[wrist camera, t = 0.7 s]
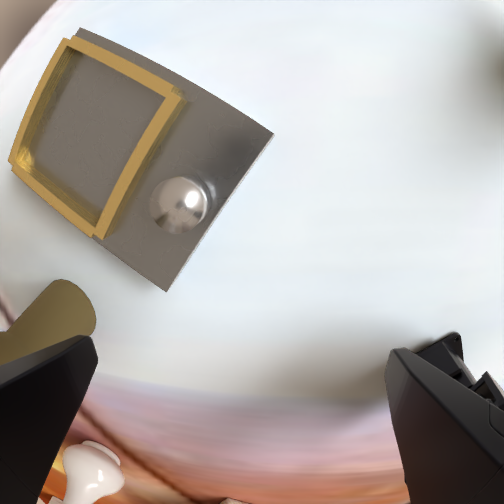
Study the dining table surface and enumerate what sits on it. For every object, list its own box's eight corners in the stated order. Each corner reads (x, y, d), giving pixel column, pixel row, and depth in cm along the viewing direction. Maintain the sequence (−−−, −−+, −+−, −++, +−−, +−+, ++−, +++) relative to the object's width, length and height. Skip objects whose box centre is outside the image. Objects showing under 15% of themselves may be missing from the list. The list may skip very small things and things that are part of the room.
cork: (49, 324, 25) (-18, 388, 15) (44, 271, 23) (-39, 328, 13) (97, 346, 25) (35, 425, 15) (96, 291, 23) (14, 367, 13)
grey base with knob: (274, 135, 19) (273, 131, 14) (177, 277, 22) (155, 306, 18) (97, 35, 17) (64, 19, 12) (32, 166, 20) (-5, 174, 16)
